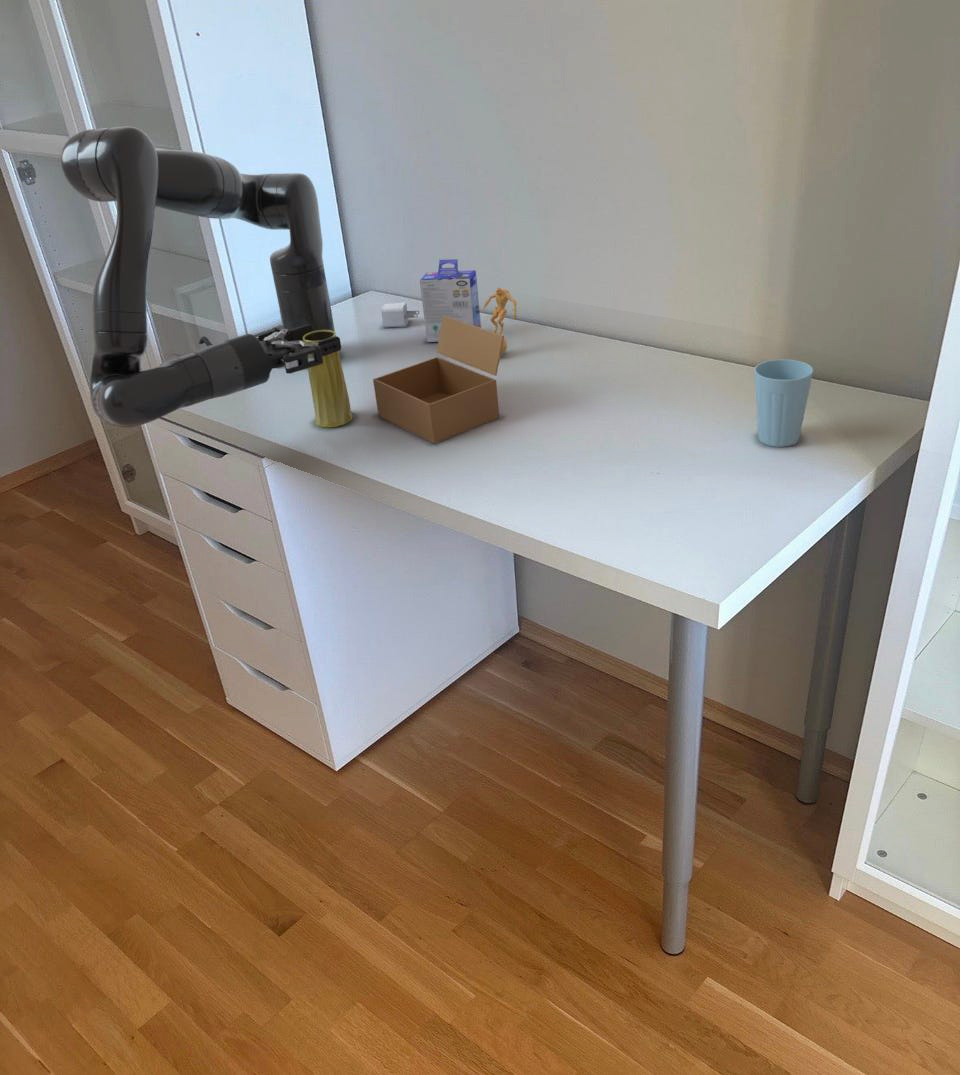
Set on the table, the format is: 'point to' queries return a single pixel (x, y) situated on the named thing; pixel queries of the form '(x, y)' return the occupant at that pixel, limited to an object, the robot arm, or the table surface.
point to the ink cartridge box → (449, 298)
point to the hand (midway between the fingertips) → (325, 336)
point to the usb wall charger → (396, 315)
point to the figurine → (501, 311)
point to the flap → (470, 345)
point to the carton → (436, 399)
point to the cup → (781, 400)
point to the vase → (328, 386)
